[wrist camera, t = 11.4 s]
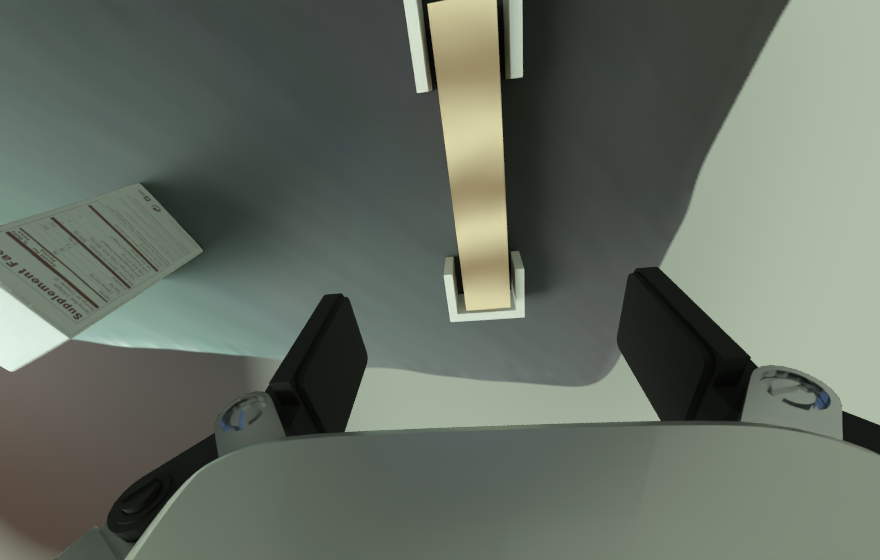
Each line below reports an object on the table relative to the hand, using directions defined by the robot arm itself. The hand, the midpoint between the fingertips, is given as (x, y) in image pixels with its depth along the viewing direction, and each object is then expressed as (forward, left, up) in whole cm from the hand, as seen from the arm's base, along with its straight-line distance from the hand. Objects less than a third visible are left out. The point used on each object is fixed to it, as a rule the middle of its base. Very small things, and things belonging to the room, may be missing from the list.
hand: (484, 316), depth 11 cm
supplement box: (+1, -30, -18) cm, 35 cm away
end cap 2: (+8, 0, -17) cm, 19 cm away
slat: (-1, 0, -18) cm, 18 cm away
